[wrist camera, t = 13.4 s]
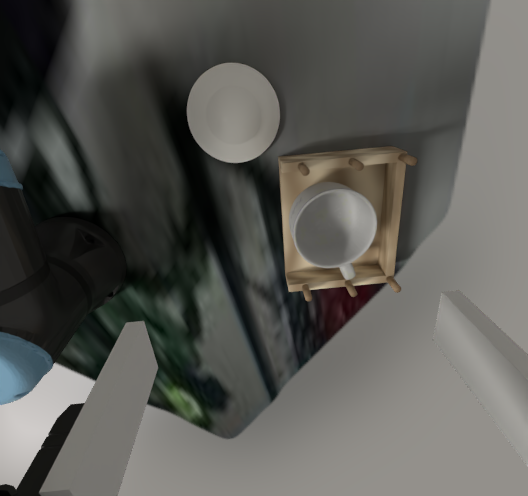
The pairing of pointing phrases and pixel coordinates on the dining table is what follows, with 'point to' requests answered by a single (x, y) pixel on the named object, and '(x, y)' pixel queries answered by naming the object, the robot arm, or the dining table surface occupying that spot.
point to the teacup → (332, 226)
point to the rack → (364, 182)
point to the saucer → (233, 112)
